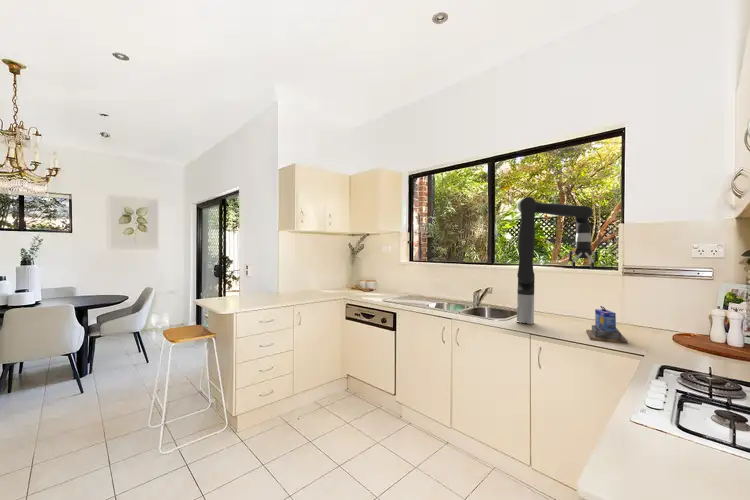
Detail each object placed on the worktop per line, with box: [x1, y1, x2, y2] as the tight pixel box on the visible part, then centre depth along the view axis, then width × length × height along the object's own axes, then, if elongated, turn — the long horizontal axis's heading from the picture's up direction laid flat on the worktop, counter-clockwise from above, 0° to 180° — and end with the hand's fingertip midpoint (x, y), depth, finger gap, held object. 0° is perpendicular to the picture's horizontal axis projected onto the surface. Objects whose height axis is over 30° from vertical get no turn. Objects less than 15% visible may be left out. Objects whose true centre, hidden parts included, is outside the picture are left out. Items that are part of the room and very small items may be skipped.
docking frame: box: [585, 324, 629, 345], centre depth 170 cm, size 15×18×4 cm
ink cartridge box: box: [594, 305, 617, 333], centre depth 170 cm, size 10×6×14 cm, turn 171°
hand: (583, 268), depth 195 cm, fingers open, 8 cm apart
